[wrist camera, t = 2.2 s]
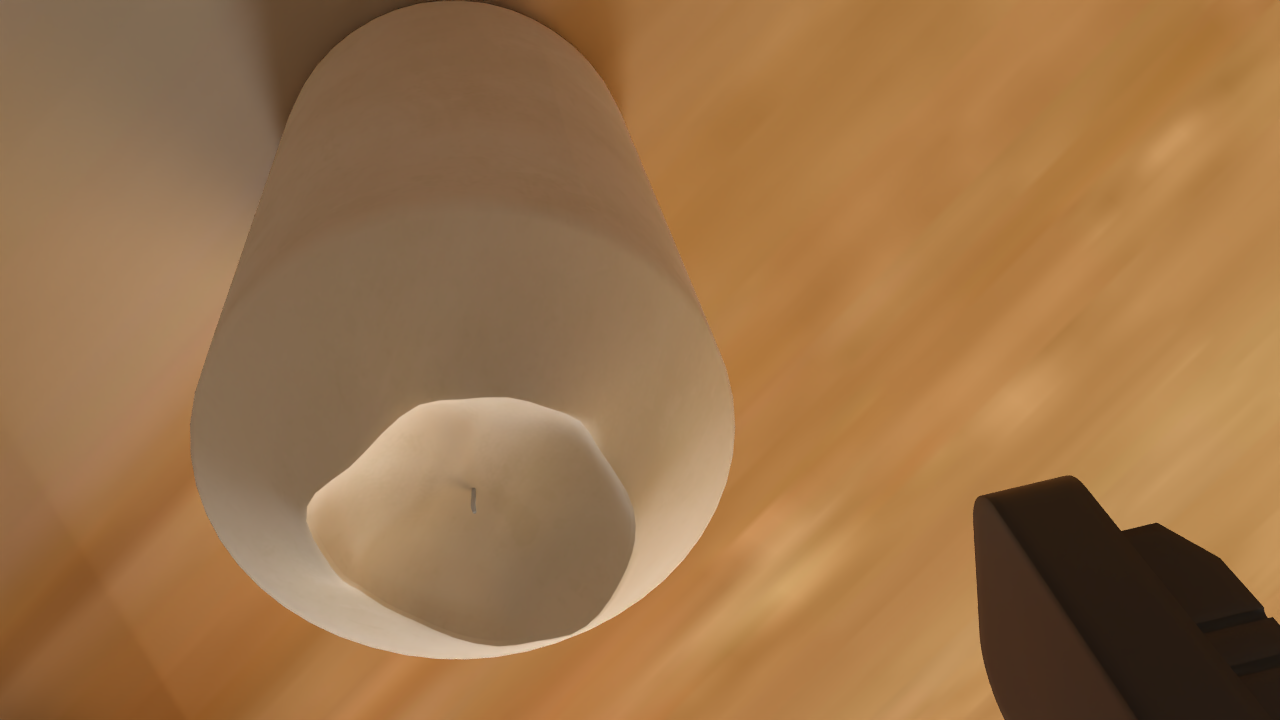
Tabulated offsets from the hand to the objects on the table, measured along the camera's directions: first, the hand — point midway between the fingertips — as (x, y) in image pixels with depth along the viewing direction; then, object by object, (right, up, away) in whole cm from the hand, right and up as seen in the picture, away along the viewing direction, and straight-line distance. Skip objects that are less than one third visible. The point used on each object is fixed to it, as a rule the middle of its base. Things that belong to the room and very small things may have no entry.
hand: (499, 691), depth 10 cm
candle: (-2, +6, +10) cm, 12 cm away
